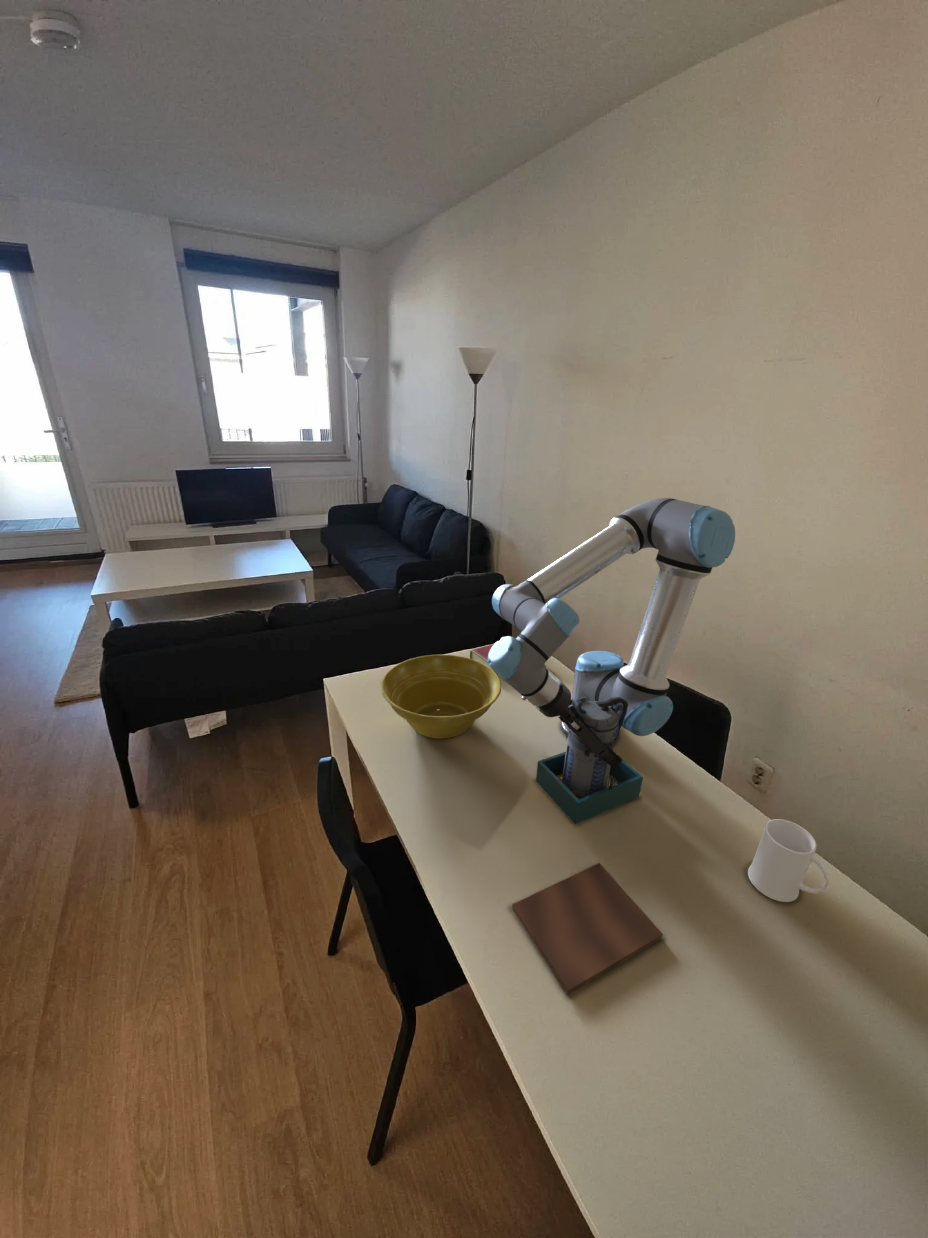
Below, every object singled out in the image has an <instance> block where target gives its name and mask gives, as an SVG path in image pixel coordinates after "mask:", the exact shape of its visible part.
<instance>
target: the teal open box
mask: <svg viewBox="0 0 928 1238" xmlns="http://www.w3.org/2000/svg"><path fill="white" fill-rule="evenodd" d="M565 755H566V751H563V752H560V753H557V754H555V755H552V756H549V757H546V758H543V759H540V760H537V767H536V774H535V782H536V783H537V785H538V786H539V787H540V788H541V789H542V790H543V791H544V792H545V793H546V794H547V796H548V797H549V798H550V799H551V800H552V801H553V802H554V804H556V805H557V806H558V808H559V809H560V810H561V811H562V812H563V813H564V814H565V815H566V816H567V817H568V819H569V820H570V821H571V822H572V823H573V824H574V825H577V824H580V823H582V822H584V821H587V820H589V819H591V818H594V817H596V816H599V815H601V814H603V813H605V812H608V811H610V810H613V809H615V808H617V807H620V806H622V805H625V804H627V803H630V802H631V801H634V800H637V799H639V798H640V794H641V790H642V785H643V781H644V776H643V775H642V774H640V773H639V772H638V771H637V770H635V769H634V767H632V766H631V765H630V764H629V763H627V762H626V761H625V760H623V761H622V762H620V763H619V764H618V765H617V766H616V767H615V768H612V767H610V773H609V776H611V777H610V780H609V786H608V787H607V789H604V790H601V791H599V792H596V793H594V794H591V795H589V796H586V797H584V798H581V799H578V798H577V797H576V796H575V795H574V794H573V793H572V792H571V791H570V790H569V789H568V788H567V787H566V786H565V785H564V784H563V783H562V780H561V779H560V778H558V777H559V776H563V769H564V762H565ZM615 781H616V782H617V784H615Z"/></svg>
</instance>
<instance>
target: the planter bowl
mask: <svg viewBox="0 0 928 1238" xmlns="http://www.w3.org/2000/svg"><path fill="white" fill-rule="evenodd" d="M380 693H381V695H382V697H383V698H384V699H385V701H386V702H387V703H388V704H389V705H390V707H391V708H392V710H393V711H394V712H395V713H396V714H397V715H398V716H400V717H401V718H402V719H404V720H405V721H406V722H407V723H408V725H409V726H410V727H411V728H412V729H413V730H415V732H417V733H419V734H420V735H422V736H425V737H427V738H433V739H449V738H453V737H456V736H459V735H461V734H463V733H464V732H466V731H467V730H468V729H469V728H470V727H471V726H472V725H473V724H474V723H475V721H476V720H478V719H480V718H481V717H483V716H484V715H485V714H486V713H487V712H488V711H489V710H490V708H491V706H492V704H494V703H495V702H496V701H497V700H498V698H499V697H500V695H501V693H502V681H501V677H500V676H499V675H498V674H497V673H496V672H494V671H493V670H492V669H491V668H489V667H488V666H486V665H485V664H483V663H481V662H478V661H476V660H473V659H470V657H465V656H461V655H454V654H429V655H428V654H427V655H421V656H417V657H413V658H409V659H406V660H403V661H402V662H399V663H397V664H396V665H394V666H393V667H391V668H390V669H389V670H388V671H386V673H385V674H384V675H383V677H382V678H381V681H380Z"/></svg>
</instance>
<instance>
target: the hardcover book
mask: <svg viewBox="0 0 928 1238" xmlns="http://www.w3.org/2000/svg"><path fill="white" fill-rule="evenodd" d="M494 644H495V643H491V644H488V645H484V646H481V647H477V648H474V649H470V651H469V658H470V659H473V660H476V661H478V662H481V663H483V664H485V665H486V666H488V667H489V668H491V667H490V665H489V664H488V654H489V651H490V649H491V648H492V646H493V645H494ZM491 669H492V668H491ZM492 670H493V669H492ZM493 671H494V670H493ZM494 672H495V671H494ZM495 673H496V672H495Z"/></svg>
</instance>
